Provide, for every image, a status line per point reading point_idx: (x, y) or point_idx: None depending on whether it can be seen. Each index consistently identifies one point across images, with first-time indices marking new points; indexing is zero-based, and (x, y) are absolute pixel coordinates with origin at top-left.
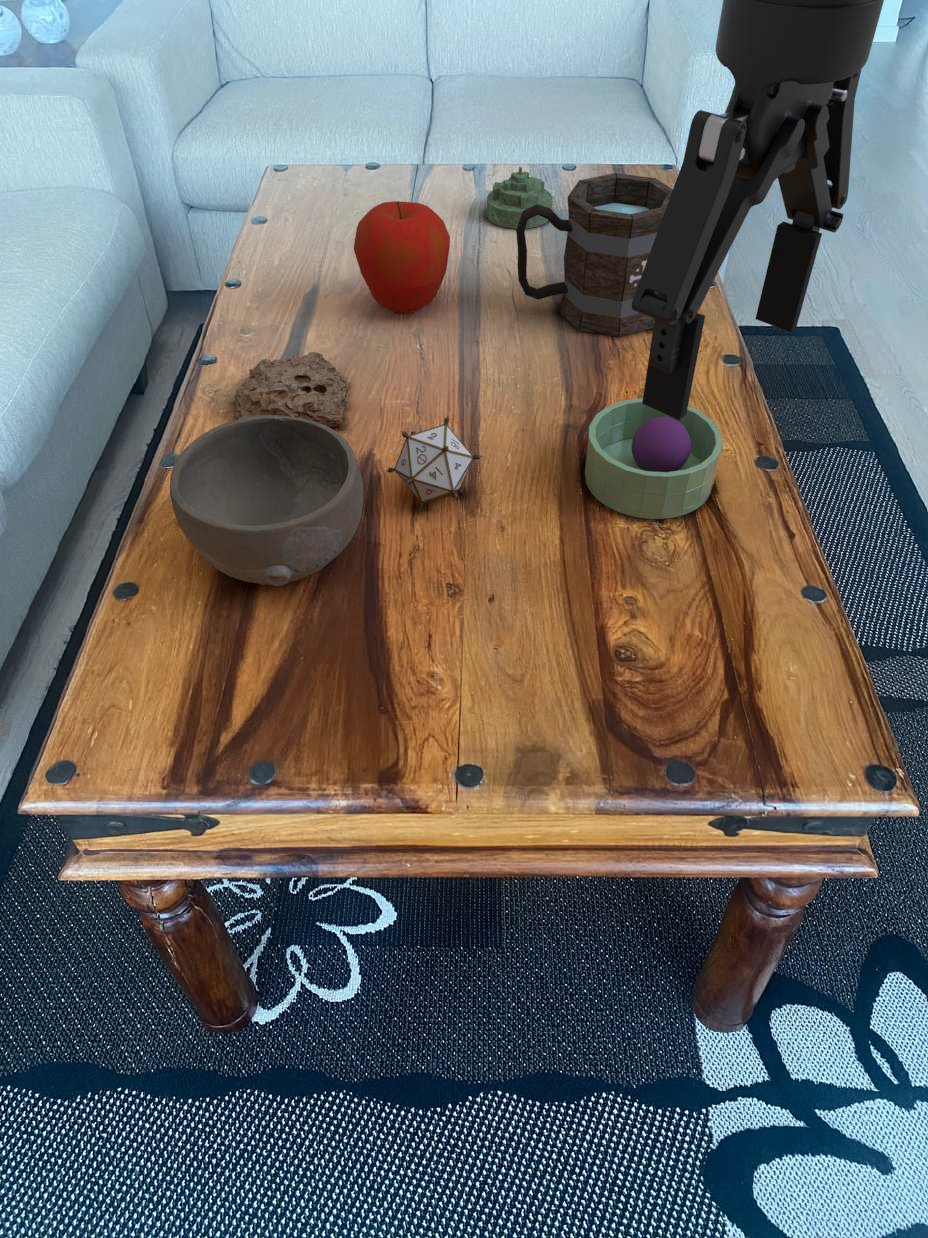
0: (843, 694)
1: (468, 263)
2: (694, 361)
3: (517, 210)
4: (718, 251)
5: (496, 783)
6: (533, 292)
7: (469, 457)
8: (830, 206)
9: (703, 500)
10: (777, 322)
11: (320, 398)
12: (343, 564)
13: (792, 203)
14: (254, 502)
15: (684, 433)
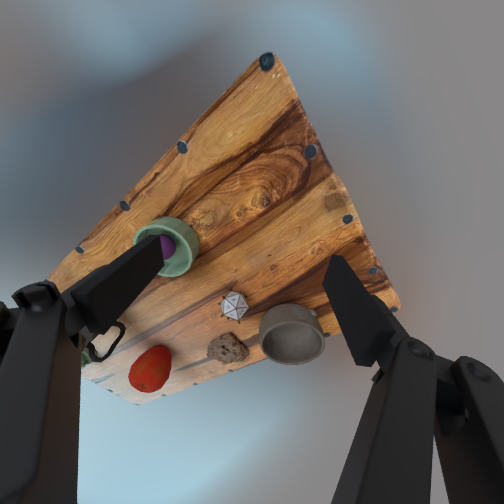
0: (229, 104)
1: (124, 347)
2: (357, 288)
3: (85, 353)
4: (432, 439)
5: (347, 209)
6: (122, 327)
7: (226, 299)
8: (21, 319)
9: (168, 217)
10: (159, 249)
11: (227, 344)
12: (283, 299)
13: (75, 358)
14: (281, 332)
15: None
